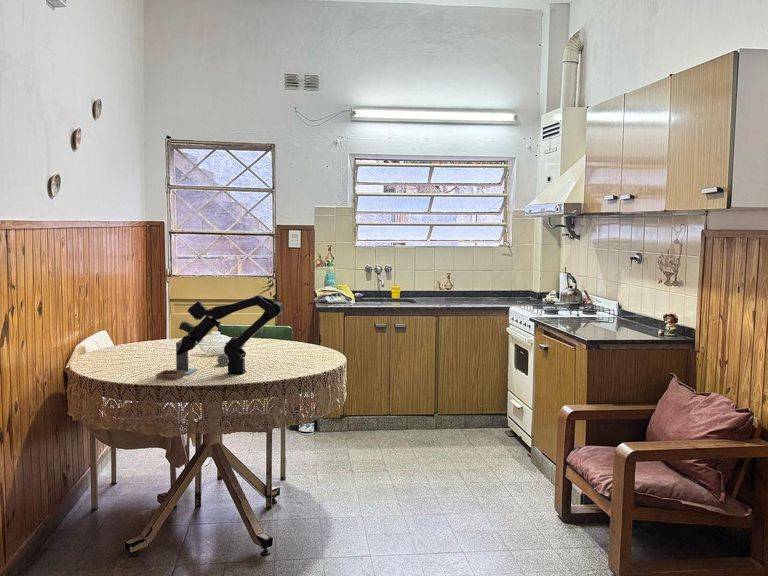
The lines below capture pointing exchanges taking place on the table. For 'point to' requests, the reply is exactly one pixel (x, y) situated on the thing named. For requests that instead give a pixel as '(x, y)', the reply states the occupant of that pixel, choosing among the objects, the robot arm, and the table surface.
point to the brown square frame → (170, 374)
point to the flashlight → (222, 359)
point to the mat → (189, 371)
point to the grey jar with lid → (181, 358)
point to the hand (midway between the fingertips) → (178, 353)
